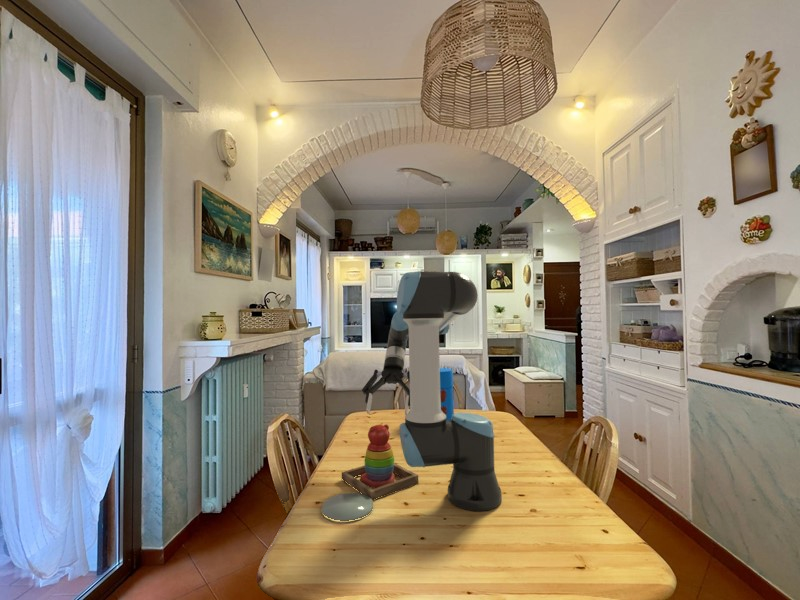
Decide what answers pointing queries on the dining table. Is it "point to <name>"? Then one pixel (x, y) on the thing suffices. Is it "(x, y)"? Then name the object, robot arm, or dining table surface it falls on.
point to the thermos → (446, 392)
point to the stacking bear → (378, 458)
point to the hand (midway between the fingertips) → (386, 413)
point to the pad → (347, 506)
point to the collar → (407, 481)
